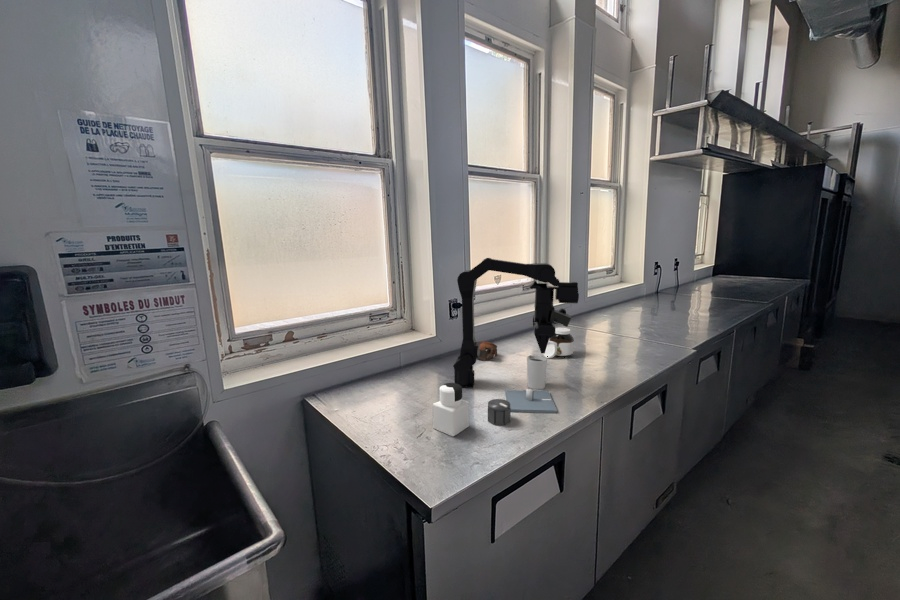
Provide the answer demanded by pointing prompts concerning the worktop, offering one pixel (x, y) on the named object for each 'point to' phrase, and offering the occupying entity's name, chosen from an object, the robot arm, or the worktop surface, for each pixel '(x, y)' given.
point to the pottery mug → (490, 349)
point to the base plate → (530, 401)
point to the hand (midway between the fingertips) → (542, 348)
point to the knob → (499, 412)
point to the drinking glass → (536, 371)
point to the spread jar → (560, 344)
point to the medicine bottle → (451, 410)
